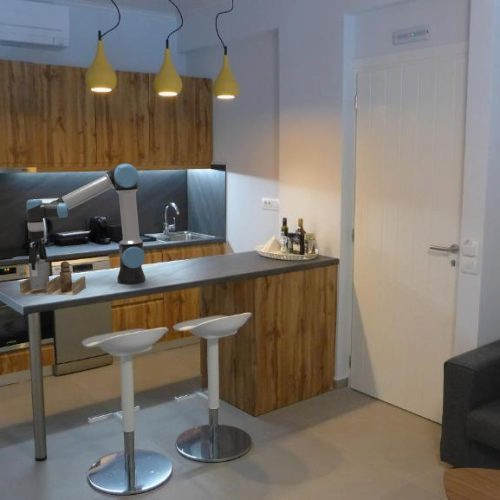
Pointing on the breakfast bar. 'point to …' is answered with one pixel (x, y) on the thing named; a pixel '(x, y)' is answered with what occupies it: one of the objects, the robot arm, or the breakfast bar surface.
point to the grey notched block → (39, 276)
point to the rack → (52, 287)
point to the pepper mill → (65, 277)
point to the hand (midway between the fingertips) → (39, 274)
